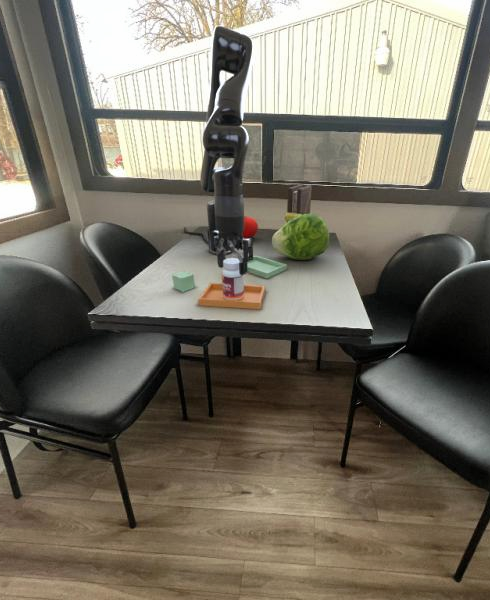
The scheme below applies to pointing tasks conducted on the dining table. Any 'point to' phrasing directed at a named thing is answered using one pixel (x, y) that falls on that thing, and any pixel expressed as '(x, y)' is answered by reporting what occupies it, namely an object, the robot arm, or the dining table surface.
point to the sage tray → (265, 267)
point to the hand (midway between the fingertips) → (232, 270)
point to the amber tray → (216, 298)
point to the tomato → (249, 227)
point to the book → (298, 201)
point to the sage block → (183, 281)
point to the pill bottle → (232, 280)
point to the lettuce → (302, 237)
